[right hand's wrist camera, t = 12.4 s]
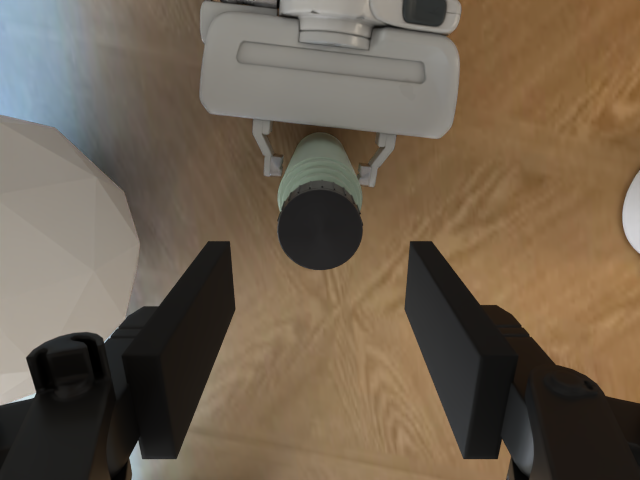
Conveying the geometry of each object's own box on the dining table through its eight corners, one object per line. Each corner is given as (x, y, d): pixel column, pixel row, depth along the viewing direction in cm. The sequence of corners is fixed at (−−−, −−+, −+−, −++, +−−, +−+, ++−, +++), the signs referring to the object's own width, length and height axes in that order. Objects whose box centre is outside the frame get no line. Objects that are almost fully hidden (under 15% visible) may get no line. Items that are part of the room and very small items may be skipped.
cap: (321, 269, 22) (321, 287, 20) (263, 219, 21) (258, 232, 19) (376, 217, 21) (381, 230, 19) (318, 162, 20) (318, 169, 18)
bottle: (320, 195, 42) (321, 297, 21) (283, 159, 41) (243, 230, 20) (356, 158, 41) (396, 227, 19) (319, 120, 39) (318, 150, 18)
